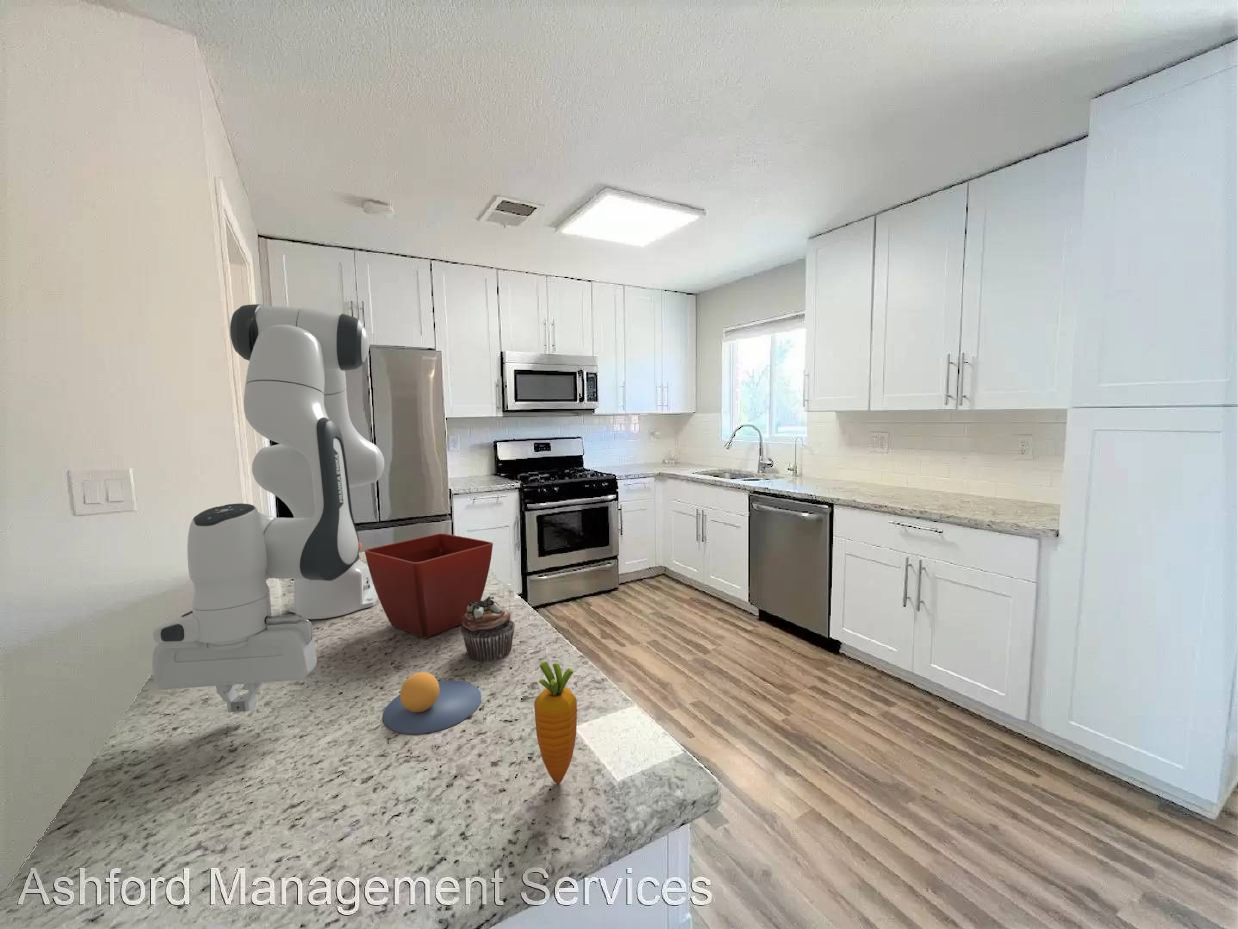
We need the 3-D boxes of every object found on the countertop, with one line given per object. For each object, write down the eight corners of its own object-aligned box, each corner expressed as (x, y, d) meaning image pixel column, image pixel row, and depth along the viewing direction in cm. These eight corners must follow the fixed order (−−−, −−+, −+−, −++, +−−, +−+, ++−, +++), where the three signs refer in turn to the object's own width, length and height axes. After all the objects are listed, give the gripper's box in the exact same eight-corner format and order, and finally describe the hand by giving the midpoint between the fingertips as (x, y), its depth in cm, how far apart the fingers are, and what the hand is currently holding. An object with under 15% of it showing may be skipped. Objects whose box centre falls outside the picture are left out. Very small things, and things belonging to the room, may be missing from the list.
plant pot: (444, 600, 121) (441, 531, 120) (498, 616, 110) (495, 542, 109) (367, 627, 106) (362, 549, 104) (420, 650, 95) (415, 563, 93)
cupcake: (480, 670, 87) (478, 614, 86) (453, 652, 94) (450, 600, 93) (526, 651, 94) (524, 599, 93) (497, 636, 101) (495, 587, 100)
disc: (400, 684, 83) (400, 683, 82) (487, 678, 84) (487, 677, 84) (368, 738, 69) (368, 737, 69) (472, 729, 70) (472, 728, 70)
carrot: (587, 781, 60) (584, 661, 58) (555, 805, 56) (552, 678, 55) (559, 762, 63) (556, 648, 62) (528, 784, 60) (523, 663, 58)
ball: (450, 677, 78) (433, 707, 78) (419, 659, 78) (402, 689, 78) (438, 694, 72) (420, 727, 73) (405, 676, 72) (386, 708, 72)
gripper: (321, 606, 76) (327, 692, 77) (174, 614, 74) (183, 703, 75) (299, 622, 70) (307, 716, 71) (138, 632, 68) (149, 729, 69)
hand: (242, 710), depth 73 cm, fingers closed
